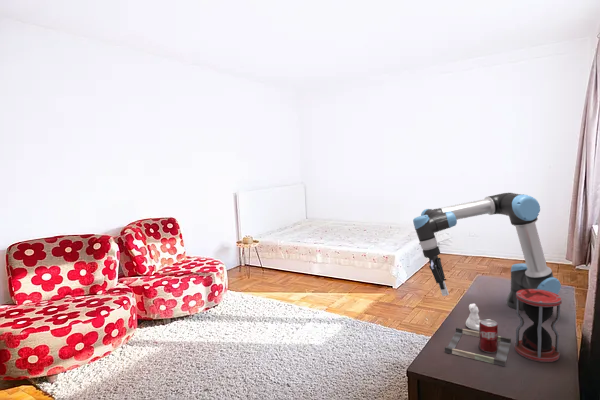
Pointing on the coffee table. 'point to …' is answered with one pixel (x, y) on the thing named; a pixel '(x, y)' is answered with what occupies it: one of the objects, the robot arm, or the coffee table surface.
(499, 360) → the square frame
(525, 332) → the hourglass
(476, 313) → the white creature statuette
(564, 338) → the coffee table surface
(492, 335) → the soda can
